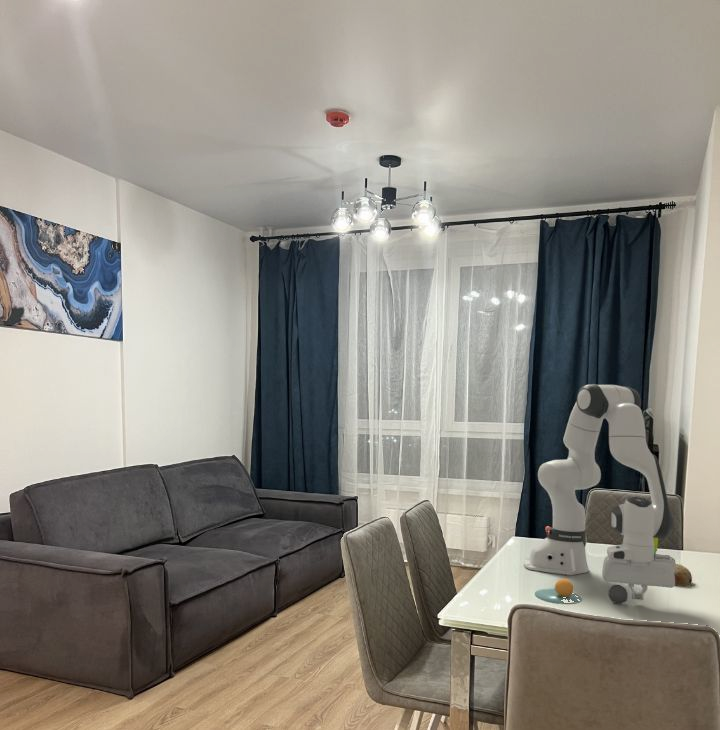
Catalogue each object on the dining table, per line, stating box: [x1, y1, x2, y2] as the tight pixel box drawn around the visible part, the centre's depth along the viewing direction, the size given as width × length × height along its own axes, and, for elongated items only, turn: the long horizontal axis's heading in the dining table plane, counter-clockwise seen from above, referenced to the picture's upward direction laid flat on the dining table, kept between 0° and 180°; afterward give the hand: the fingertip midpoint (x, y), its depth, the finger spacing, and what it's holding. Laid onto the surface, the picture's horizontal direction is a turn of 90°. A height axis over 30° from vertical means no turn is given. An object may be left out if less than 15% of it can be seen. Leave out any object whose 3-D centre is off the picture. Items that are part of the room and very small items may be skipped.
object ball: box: [554, 578, 574, 597], centre depth 206 cm, size 6×6×6 cm
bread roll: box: [674, 563, 693, 587], centre depth 226 cm, size 10×10×8 cm
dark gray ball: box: [607, 584, 629, 605], centre depth 201 cm, size 6×6×6 cm
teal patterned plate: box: [534, 588, 583, 604], centre depth 206 cm, size 14×14×1 cm
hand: (637, 598), depth 201 cm, fingers closed
